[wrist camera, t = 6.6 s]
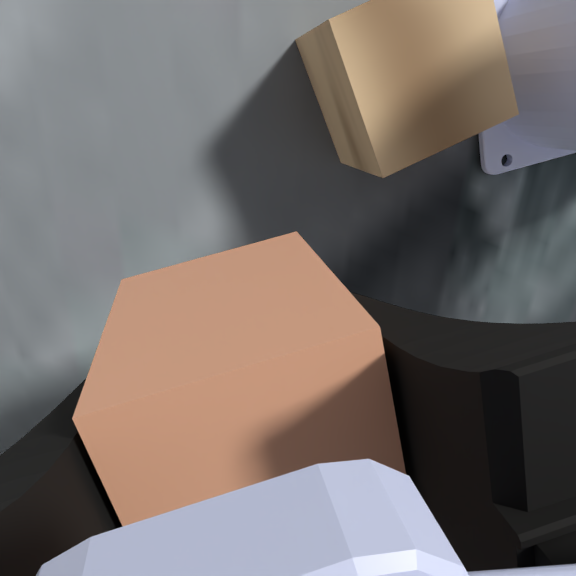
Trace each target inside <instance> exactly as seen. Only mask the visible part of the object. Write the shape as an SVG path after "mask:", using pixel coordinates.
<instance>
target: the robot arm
mask: <svg viewBox="0 0 576 576" xmlns="http://www.w3.org/2000/svg"><path fill="white" fill-rule="evenodd" d="M494 4H495V9H496V13H497V18H498V22H499V26H500V31H501V35H502V40H503V44H504V49H505V53H506V58H507V62H508V67H509V71H510V76H511V80H512V85H513V89H514V94H515V98H516V102H517V107H518V111H519V115H517V116H514V117H512V118H510V119H508V120H506V121H504V122H502V123H500V124H497V125H495V126H493V127H491V128H489V129H487V130H485V131H483V132H480V133H478V135H479V146H480V158H481V167H482V170H483V171H484V172H485V173H487V174H491V175H497V174H501V173H504V172H508V171H511V170H515V169H519V168H522V167H526V166H530V165H533V164H537V163H540V162H544V161H548V160H551V159H555V158H559V157H562V156H566V155H569V154H573V153H576V0H494ZM504 155H506V156H507V161H506V163H505V164H504V165H502V163H501V160H502V157H503V156H504ZM351 294H352V295H353V296H354V297H355V299H356V300H357V301H358V302H359V303H360V304H361V305H362V307H363V308H364V309H365V310H366V311H367V312H368V313H369V315H370V316H371V317H372V318H373V319H374V320H375V321H376V323H377V324H378V325H379V326H380V329H381V335H382V340H383V346H384V352H385V357H386V363H387V369H388V374H389V380H390V386H391V391H392V397H393V403H394V408H395V414H396V420H397V425H398V431H399V437H400V443H401V448H402V454H403V460H404V465H405V471H406V474H404V473H401V472H399V471H397V470H394V469H392V468H390V467H387V466H385V465H383V464H380V463H378V462H376V461H373V460H371V459H361V460H351V461H341V462H330V463H320V464H315V465H312V466H309V467H306V468H303V469H300V470H297V471H294V472H290V473H287V474H284V475H281V476H278V477H275V478H272V479H269V480H266V481H263V482H259V483H256V484H253V485H250V486H247V487H244V488H241V489H238V490H235V491H232V492H228V493H225V494H222V495H219V496H216V497H213V498H210V499H207V500H204V501H201V502H197V503H194V504H191V505H188V506H185V507H182V508H179V509H176V510H173V511H170V512H166V513H163V514H160V515H157V516H154V517H151V518H148V519H145V520H142V521H139V522H135V523H132V524H129V525H126V526H122V524H121V522H120V520H119V518H118V516H117V513H116V511H115V509H114V507H113V505H112V503H111V501H110V499H109V496H108V494H107V492H106V490H105V488H104V486H103V484H102V481H101V479H100V477H99V475H98V473H97V471H96V469H95V466H94V464H93V462H92V460H91V458H90V456H89V454H88V451H87V449H86V447H85V445H84V443H83V441H82V439H81V437H80V434H79V432H78V430H77V428H76V426H75V424H74V422H73V419H72V417H73V415H74V412H75V409H76V406H77V403H78V401H79V398H80V395H81V392H82V389H83V387H84V384H85V381H86V379H85V380H84V381H83V382H82V383H81V384H80V385H79V386H78V387H77V388H76V389H75V390H74V391H73V392H72V393H71V394H70V395H69V396H68V397H67V398H66V399H65V400H63V401H62V402H61V403H60V404H59V405H58V406H57V407H56V408H55V409H54V410H53V411H52V412H51V413H50V414H49V415H47V416H46V417H45V418H44V419H43V420H42V421H41V422H40V423H39V424H37V425H36V426H35V427H34V428H33V429H32V430H31V431H30V432H28V433H27V434H26V435H25V436H24V437H23V438H22V439H20V440H19V441H18V442H17V443H16V444H14V445H13V446H12V447H11V448H9V449H8V450H7V451H6V452H4V453H3V454H2V455H0V576H576V322H564V323H545V324H511V323H488V322H476V321H467V320H460V319H452V318H446V317H440V316H435V315H430V314H426V313H421V312H417V311H413V310H409V309H405V308H402V307H398V306H395V305H391V304H388V303H385V302H382V301H378V300H375V299H372V298H369V297H366V296H362V295H359V294H355V293H351Z"/></svg>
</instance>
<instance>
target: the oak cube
mask: <svg viewBox="0 0 576 576" xmlns="http://www.w3.org/2000/svg"><path fill="white" fill-rule="evenodd" d="M295 41H296V44H297V46H298V49H299V52H300V54H301V57H302V60H303V62H304V65H305V68H306V70H307V73H308V76H309V79H310V81H311V84H312V87H313V89H314V92H315V95H316V97H317V100H318V103H319V105H320V108H321V111H322V113H323V116H324V119H325V121H326V124H327V127H328V130H329V132H330V135H331V138H332V140H333V143H334V146H335V148H336V151H337V154H338V156H339V159H340V162H341V163H343V164H345V165H348V166H351V167H354V168H356V169H359V170H362V171H365V172H367V173H370V174H373V175H376V176H378V177H381V178H385V177H387V176H389V175H391V174H393V173H395V172H398V171H400V170H402V169H404V168H406V167H408V166H410V165H412V164H415V163H417V162H419V161H421V160H423V159H425V158H427V157H429V156H432V155H434V154H436V153H438V152H440V151H442V150H444V149H446V148H449V147H451V146H453V145H455V144H457V143H459V142H461V141H463V140H466V139H468V138H470V137H472V136H474V135H476V134H478V133H480V132H483V131H485V130H487V129H489V128H491V127H493V126H495V125H497V124H500V123H502V122H504V121H506V120H508V119H510V118H512V117H514V116H517V115H519V111H518V107H517V102H516V98H515V94H514V89H513V85H512V80H511V76H510V71H509V67H508V62H507V58H506V53H505V49H504V44H503V40H502V35H501V31H500V26H499V22H498V18H497V13H496V9H495V4H494V0H370V1H368V2H366V3H364V4H361V5H359V6H357V7H355V8H353V9H351V10H348V11H346V12H344V13H342V14H340V15H337V16H335V17H333V18H331V19H329V20H327V21H325V22H324V23H322V24H320V25H319V26H317V27H316V28H314V29H312V30H311V31H309V32H307V33H306V34H304V35H302V36H301V37H299V38H297V39H296V40H295Z"/></svg>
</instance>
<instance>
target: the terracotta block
mask: <svg viewBox="0 0 576 576" xmlns="http://www.w3.org/2000/svg"><path fill="white" fill-rule="evenodd" d="M72 419H73V422H74V424H75V426H76V428H77V430H78V432H79V434H80V437H81V439H82V441H83V443H84V445H85V447H86V449H87V451H88V454H89V456H90V458H91V460H92V462H93V464H94V466H95V469H96V471H97V473H98V475H99V477H100V479H101V481H102V484H103V486H104V488H105V490H106V492H107V494H108V496H109V499H110V501H111V503H112V505H113V507H114V509H115V511H116V513H117V516H118V518H119V520H120V522H121V524H122V526H126V525H129V524H132V523H135V522H139V521H142V520H145V519H148V518H151V517H154V516H157V515H160V514H163V513H166V512H170V511H173V510H176V509H179V508H182V507H185V506H188V505H191V504H194V503H197V502H201V501H204V500H207V499H210V498H213V497H216V496H219V495H222V494H225V493H228V492H232V491H235V490H238V489H241V488H244V487H247V486H250V485H253V484H256V483H259V482H263V481H266V480H269V479H272V478H275V477H278V476H281V475H284V474H287V473H290V472H294V471H297V470H300V469H303V468H306V467H309V466H312V465H315V464H320V463H330V462H341V461H351V460H361V459H371V460H373V461H376V462H378V463H380V464H383V465H385V466H387V467H390V468H392V469H394V470H397V471H399V472H401V473H404V474H406V471H405V465H404V460H403V454H402V448H401V443H400V437H399V431H398V425H397V420H396V414H395V408H394V403H393V397H392V391H391V386H390V380H389V374H388V369H387V363H386V357H385V352H384V346H383V340H382V335H381V329H380V326H379V325H378V324H377V323H376V321H375V320H374V319H373V318H372V317H371V316H370V315H369V313H368V312H367V311H366V310H365V309H364V308H363V307H362V305H361V304H360V303H359V302H358V301H357V300H356V299H355V297H354V296H353V295H352V294H351V293H350V292H349V291H348V289H347V288H346V287H345V286H344V285H343V284H342V283H341V281H340V280H339V279H338V278H337V277H336V276H335V275H334V273H333V272H332V271H331V270H330V269H329V268H328V267H327V266H326V264H325V263H324V262H323V261H322V260H321V259H320V258H319V256H318V255H317V254H316V253H315V252H314V251H313V250H312V248H311V247H310V246H309V245H308V244H307V243H306V242H305V240H304V239H303V238H302V237H301V236H300V235H299V234H298V232H297V231H296V232H292V233H289V234H285V235H282V236H278V237H274V238H271V239H267V240H263V241H260V242H256V243H252V244H249V245H245V246H242V247H238V248H234V249H231V250H227V251H223V252H220V253H216V254H212V255H209V256H205V257H202V258H198V259H194V260H191V261H187V262H183V263H180V264H176V265H173V266H169V267H165V268H162V269H158V270H154V271H151V272H147V273H143V274H140V275H136V276H133V277H129V278H125V279H122V280H121V283H120V286H119V288H118V291H117V294H116V297H115V300H114V302H113V305H112V308H111V311H110V314H109V316H108V319H107V322H106V325H105V328H104V331H103V333H102V336H101V339H100V342H99V345H98V347H97V350H96V353H95V356H94V359H93V361H92V364H91V367H90V370H89V373H88V375H87V378H86V381H85V384H84V387H83V389H82V392H81V395H80V398H79V401H78V403H77V406H76V409H75V412H74V415H73V417H72Z"/></svg>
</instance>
